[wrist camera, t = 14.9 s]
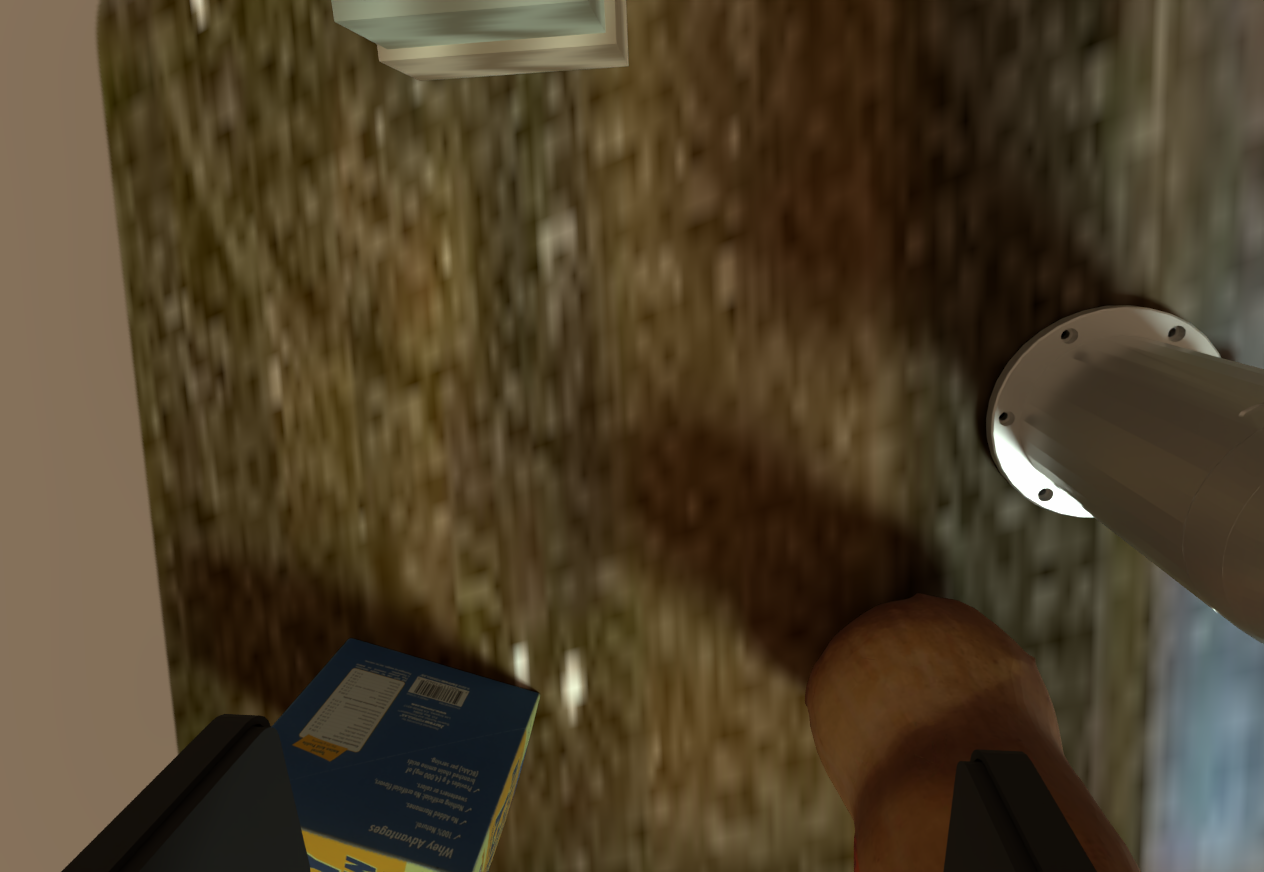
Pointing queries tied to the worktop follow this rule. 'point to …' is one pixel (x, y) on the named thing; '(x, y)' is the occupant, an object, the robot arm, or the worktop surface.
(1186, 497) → the robot arm
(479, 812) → the protein box
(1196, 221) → the worktop surface
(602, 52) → the grey studded block
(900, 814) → the butternut squash
